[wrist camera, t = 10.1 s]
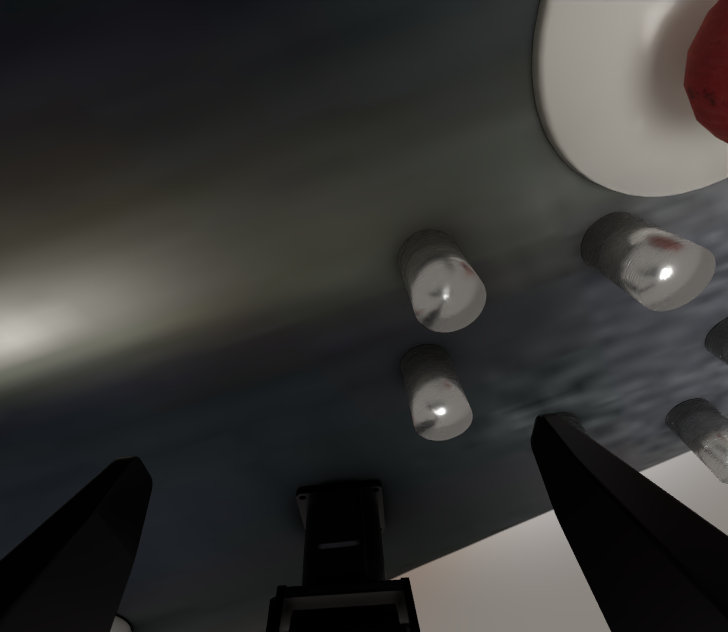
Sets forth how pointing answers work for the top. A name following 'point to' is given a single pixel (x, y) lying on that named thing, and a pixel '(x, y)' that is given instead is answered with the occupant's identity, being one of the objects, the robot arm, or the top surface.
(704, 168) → the plate
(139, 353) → the top surface
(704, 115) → the onion
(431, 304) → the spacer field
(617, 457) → the robot arm
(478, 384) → the top surface
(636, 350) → the top surface
